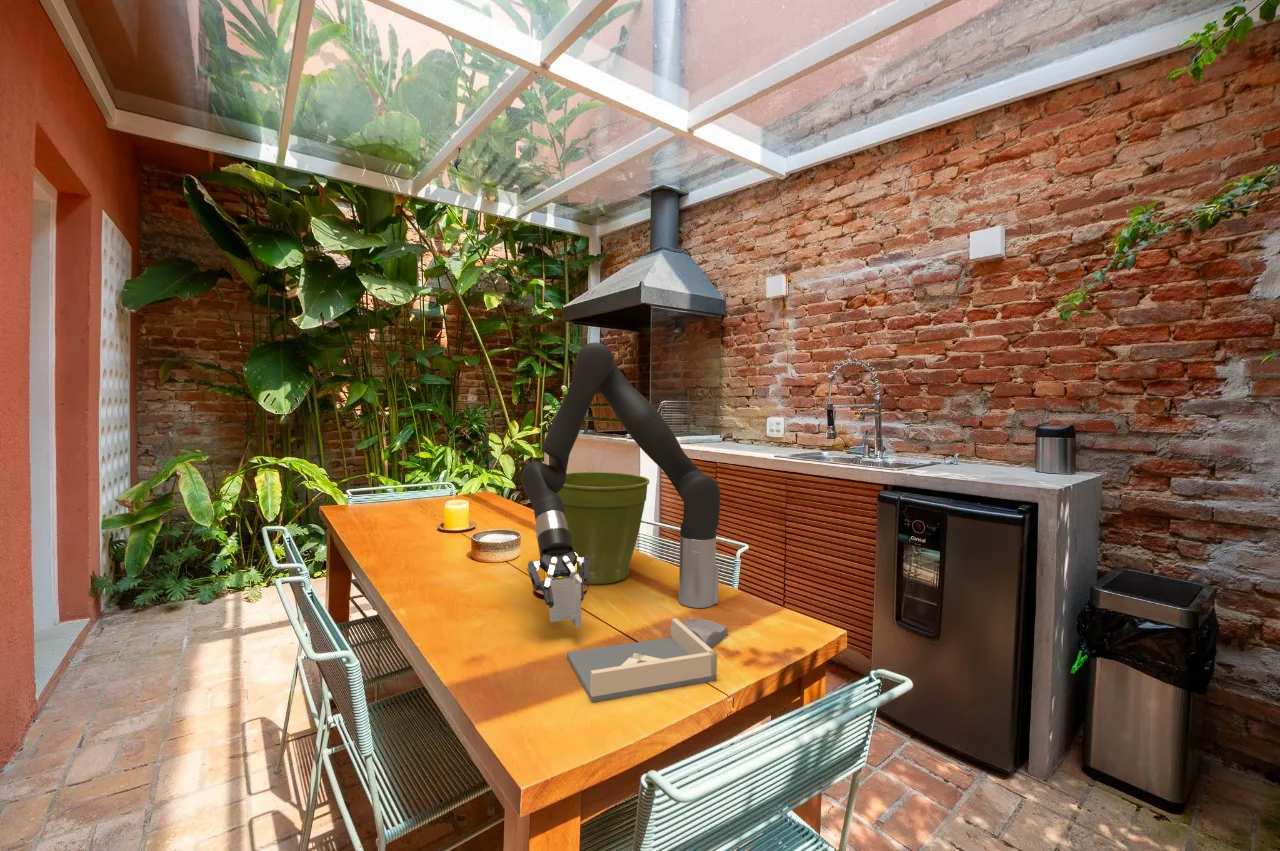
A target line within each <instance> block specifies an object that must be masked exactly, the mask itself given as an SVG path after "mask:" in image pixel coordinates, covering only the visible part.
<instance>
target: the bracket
mask: <svg viewBox="0 0 1280 851" xmlns="http://www.w3.org/2000/svg"><path fill="white" fill-rule="evenodd" d="M550 587H551V589H552V595H553V601H554V605H553V608H549V621H550V622H551V623H555V622H561V621H567V620H571V622H572V624H573V626H574V627H575V628H577V627H582V602H581V583H580V582H579V581H578V580H577V578H576V577H575V576H569V577H557V578H553V577H552V579H550Z"/></svg>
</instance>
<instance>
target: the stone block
mask: <svg viewBox="0 0 1280 851" xmlns="http://www.w3.org/2000/svg"><path fill="white" fill-rule="evenodd" d="M681 623H682V624H684V625H685V626H686V627H687V628H688V629H689V630H690V631H692V632H693V633H694V634H695V635H696V636H697V637H698V638H700V639H701V640H702V641H703V642H704V643H705V644H707V645H708V646H709V647H710V648H711V649H712V648H714V647H715V646H716V645H718V644H719V643H720V642H722V641H723V640H724V639H725V638H726V636H728V630H729V628H728V626H726V625H721V624H720V623H719V622H718V623H717V622H716V621H712V620H710V619H709V620H708V619H698V618H697V619H688V620H686V621H684V622H681ZM669 633H670V637H671V638H672V636H671V631H670V632H669Z"/></svg>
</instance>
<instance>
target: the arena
mask: <svg viewBox="0 0 1280 851" xmlns="http://www.w3.org/2000/svg"><path fill="white" fill-rule="evenodd" d="M670 622H671V623H670V624H671V626H670V632H671V636H672V638H671V636H670V637H665V638H657V639H650V640H644V641H637V642H630V643H622V644H617V645H610V646H609V645H608V646H602V647H596V648H589V649H582V650H575V651H569V652H566V658H567V660H568V662H569V664H570V666H571V667H572V670H573V671H574V672H575V675H576V676H577V678H578V680H579V682H580V683H581V685H582V687H583V689H584V691H585V693H586V694H587V697H588V698H589V699H590V701H591V703H596V702H603V701H607V700H608V701H609V700H614V699H618V698H626V697H631V696H636V695H642V694H648V693H653V692H658V691H665V690H671V689H675V688H681V687H687V686H692V685H697V684H703V683H709V682H714V681H717V676H718V673H717V672H718V653H717V652H716V651H714V650H713V649H712V648H710V647H709V646H708V645H707V644H705V643H704V642H703V641H702V640H701V639H700V638H698V637H697V636H696V635H695V634H694V633H693V632H692V631H690V630H689V629H688V628H687V627H686V626H685V625H684V624H682V623H683V622H681V621H680V620H679V619H678V618H671V621H670Z"/></svg>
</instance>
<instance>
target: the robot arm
mask: <svg viewBox="0 0 1280 851" xmlns="http://www.w3.org/2000/svg"><path fill="white" fill-rule="evenodd" d="M597 392H599V393H600V394H601V396H603V398H604V399H605V400H606V402H607V403H608V404H609V406H610V407H611V409H612V411H613V412H614V414H615V415H616V418H618V421H619V422H620V423H621V425H622V426H623V428H624V429H625V431H626V432H627V433H628V434H629V436H630V437H631V439H633V441H634V442H635V443H636V444H637V445H638V447H639V448H640V449H641V450H642V451H643V452H644V453H645V455H647V457H648V458H650V459H651V460H652V462H653V463H655V464H656V465H657V466H658V467H659V468H660V469H661V471H663V473H665V475H666V477H667V478H668V479H669V481H670V482H671V484H672V486H673V487H674V489H675V491H677V493H678V496H679V497H680V498H681V500H682V501H683V511H682V512H683V514H682V515H683V518H682V523H681V524H680V528H679V529H680V530H679V532H680V533H679V536H680V537H679V571H678V572H679V575H678V576H679V577H678V580H679V581H678V602H679V603H680V604H681V605H683V606H685V607H687V608H695V609H702V608H703V609H705V608H709V607H712V606H714V605H715V604H716V605H717V604H718V603H719V572H720V571H719V570H720V568H719V566H718V565H717V564H716V562H717V531H718V528H719V523H720V514H721V513H720V509H721V507H720V506H721V490H720V486H719V484H718V483H717V481H716V480H715V479H714V478H712V477H711V476H709V475H708V474H706V473H704V472H703V471H702V470H701V469H700V468H699V467H698V466H697V465H696V464H695V463H694V462H693V461H692V460H691V458H689V457H688V455H687V454H686V453H685V451H684V450H683V448H682V447H681V445H680V443H679V440H678V439H677V437H676V435H675V433H674V431H673V430H672V428H671V427H670V425H669V423H667V421H666V420H665V419H664V417H663V415H662V414H660V412H659V411H658V410H657V409H656V408H655V406H654V405H653V404H652V403H651V402H650V401H649V400H648V399H647V398H646V397H644V395H643V394H642V393H641V392H639V391H638V390H637V389H636V388H635V387H634V386H633V385H632V384H631V383H630V382H629V381H628V380H627V378H626V377H625V376H624V374H623V373H622V371H621V370H620V368H619V366H618V365H617V363H616V362H615V358H614V354H613V353H612V351H611V349H610V348H609V347H608V346H607V345H606V344H603V343H601V342H590V343H587V344H585V345H583V346H582V347H581V348H580V349H579V351H578V353H577V355H576V359H575V368H574V372H573V376H572V379H571V382H570V385H569V387H568V390H567V393H566V394H565V397H564V398H563V402H562V403H561V405H560V407H559V409H558V410H557V412H556V414H555V416H554V418H553V421H552V422H551V425H550V427H549V429H548V432H547V434H546V437H545V439H544V441H543V443H542V447H541V448H542V451H543V452H544V453H545V454H546V455H547V456H549V457H550V458H551V465H550V464H547V463H543V462H541V461H530V462H528V463H527V464H526V465H525V466H524V468H523V469H522V472H521V473H522V474H521V483H522V487H523V489H524V491H525V494H526V496H527V497H528V499H529V502H530V505H531V506H532V508H533V513H534V519H535V533H536V535H535V537H536V540H537V545H538V546H537V547H538V551H539V560H538V561H533V560H530V561H528V564H527V568H526V569H527V573H528V575H529V578H530V580H531V584H532V587H533V589H534V591H542V592H543V597H544V603H545V605H546V606H548V608H549V609H550V608H553V605H554V601H553V595H552V589H551V587H550V579H552V578H561V577H569V576H575V577H576V578H577V580H578V581H579V582H580V583H581V603H582V602H583V600H584V599H585V593H584V588H583V586H586V585H588V584H587V583H588V580H589V556H587V555H586V556H584V557H577V556H576V555H575V553H574V551H573V545H572V540H571V535H570V530H569V526H568V522H567V519H566V516H565V511H564V506H563V502H562V499H561V497H560V496H559V495H558V494H556V493H558V492H559V491H560V490H561V489H562V487H563V485H564V483H565V479H566V473H567V470H568V466H569V461H570V460H569V459H570V454H571V452H572V450H573V448H574V445H575V443H576V440H577V439H578V436H579V434H580V431H581V429H582V426H583V423H584V420H585V418H586V415H587V412H588V410H589V408H590V406H591V404H592V401H593V399H594V398H595V396H596V393H597ZM576 563H578V564H579V566H580V567H581V568H582V578H580V576H579V575H578V573H577V570H576V569H575V567H574V566H575V564H576ZM539 569H541V570H542V571H544V573H546V577H545V580H544V582H543V581H541V577H540V576H539V573H538V572H539Z"/></svg>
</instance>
